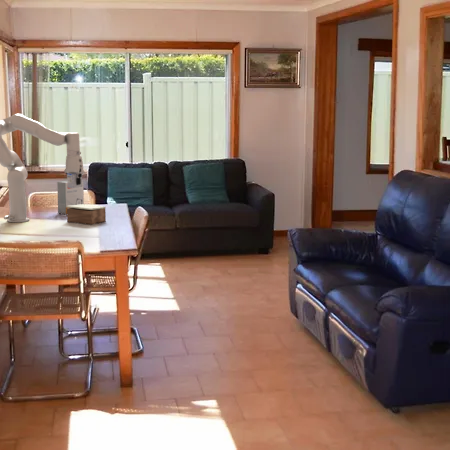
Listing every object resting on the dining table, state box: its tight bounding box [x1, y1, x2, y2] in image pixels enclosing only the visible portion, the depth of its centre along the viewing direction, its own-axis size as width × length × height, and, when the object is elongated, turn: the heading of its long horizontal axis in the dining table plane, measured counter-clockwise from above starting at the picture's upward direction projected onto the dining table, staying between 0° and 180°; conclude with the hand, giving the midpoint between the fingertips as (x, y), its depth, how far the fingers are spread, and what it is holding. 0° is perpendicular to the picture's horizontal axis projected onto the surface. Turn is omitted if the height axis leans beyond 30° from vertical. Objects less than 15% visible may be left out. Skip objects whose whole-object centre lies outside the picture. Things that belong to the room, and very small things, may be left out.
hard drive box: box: [56, 180, 85, 215], centre depth 454 cm, size 16×8×20 cm, turn 143°
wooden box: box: [66, 208, 107, 226], centre depth 422 cm, size 13×18×8 cm
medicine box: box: [66, 172, 83, 188], centre depth 423 cm, size 8×4×9 cm, turn 143°
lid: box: [66, 203, 106, 210], centre depth 421 cm, size 13×18×1 cm
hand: (74, 184), depth 423 cm, fingers closed on medicine box, 5 cm apart
